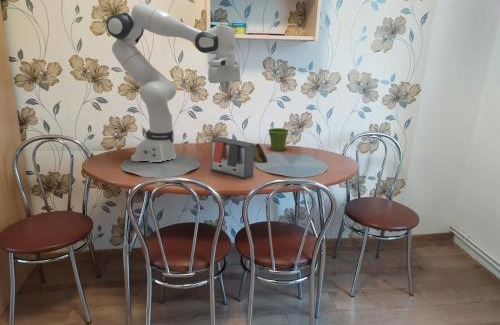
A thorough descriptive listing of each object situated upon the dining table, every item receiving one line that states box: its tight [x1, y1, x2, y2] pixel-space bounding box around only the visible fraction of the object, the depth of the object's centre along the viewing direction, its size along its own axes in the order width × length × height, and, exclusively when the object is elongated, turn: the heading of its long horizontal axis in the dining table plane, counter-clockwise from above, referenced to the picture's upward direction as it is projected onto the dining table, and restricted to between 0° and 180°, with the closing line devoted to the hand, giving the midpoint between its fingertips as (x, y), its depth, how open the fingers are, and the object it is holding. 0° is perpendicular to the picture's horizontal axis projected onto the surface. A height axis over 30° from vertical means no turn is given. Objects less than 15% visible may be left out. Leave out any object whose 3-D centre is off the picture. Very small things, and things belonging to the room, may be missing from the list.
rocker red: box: [213, 142, 224, 163], centre depth 159 cm, size 2×4×9 cm, turn 57°
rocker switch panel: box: [211, 136, 255, 180], centre depth 161 cm, size 7×19×15 cm, turn 57°
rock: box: [254, 142, 269, 163], centre depth 184 cm, size 11×9×10 cm
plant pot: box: [267, 127, 290, 152], centre depth 203 cm, size 12×12×11 cm
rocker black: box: [227, 145, 239, 167], centre depth 155 cm, size 2×4×9 cm, turn 56°
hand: (225, 91), depth 168 cm, fingers closed
